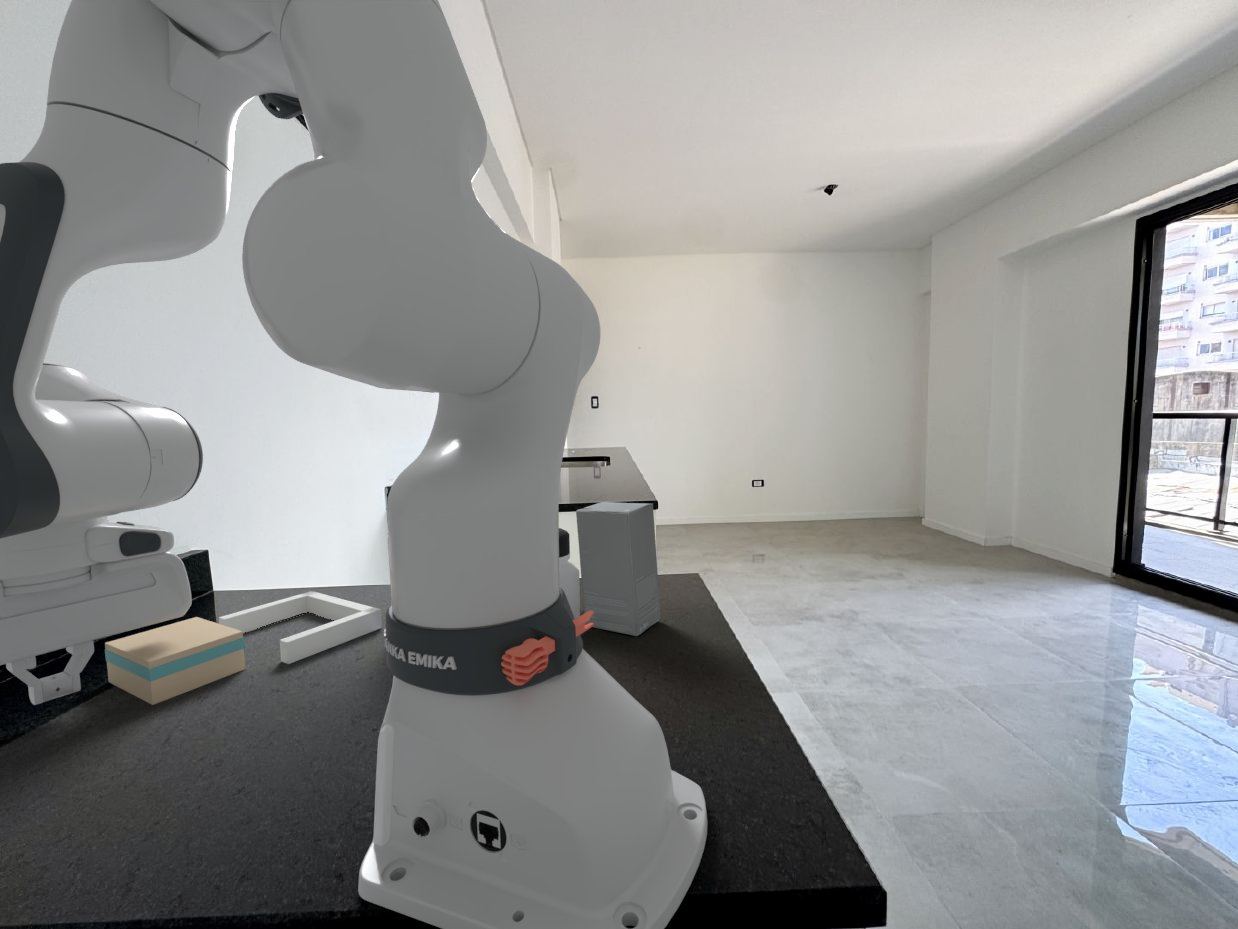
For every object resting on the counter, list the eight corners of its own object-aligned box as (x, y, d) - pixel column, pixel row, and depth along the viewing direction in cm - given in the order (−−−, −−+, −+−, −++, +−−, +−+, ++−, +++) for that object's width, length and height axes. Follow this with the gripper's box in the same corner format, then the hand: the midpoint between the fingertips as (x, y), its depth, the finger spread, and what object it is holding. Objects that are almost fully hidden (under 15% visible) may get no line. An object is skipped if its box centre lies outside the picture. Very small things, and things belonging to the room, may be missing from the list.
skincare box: (661, 621, 67) (660, 502, 66) (633, 641, 61) (631, 510, 60) (608, 610, 72) (605, 498, 70) (577, 627, 66) (574, 505, 64)
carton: (246, 671, 56) (243, 631, 56) (152, 708, 49) (148, 662, 48) (200, 653, 61) (196, 616, 60) (108, 684, 53) (104, 643, 53)
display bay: (381, 627, 67) (380, 609, 66) (288, 664, 57) (286, 642, 56) (312, 607, 75) (311, 591, 74) (220, 636, 65) (218, 617, 64)
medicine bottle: (569, 604, 74) (566, 523, 73) (581, 622, 67) (578, 532, 67) (519, 610, 72) (516, 527, 71) (526, 629, 65) (523, 537, 64)
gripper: (-170, 585, 35) (-143, 776, 36) (192, 530, 53) (203, 659, 54) (-177, 573, 38) (-153, 749, 39) (167, 525, 56) (177, 647, 57)
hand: (55, 696), depth 47 cm, fingers closed
